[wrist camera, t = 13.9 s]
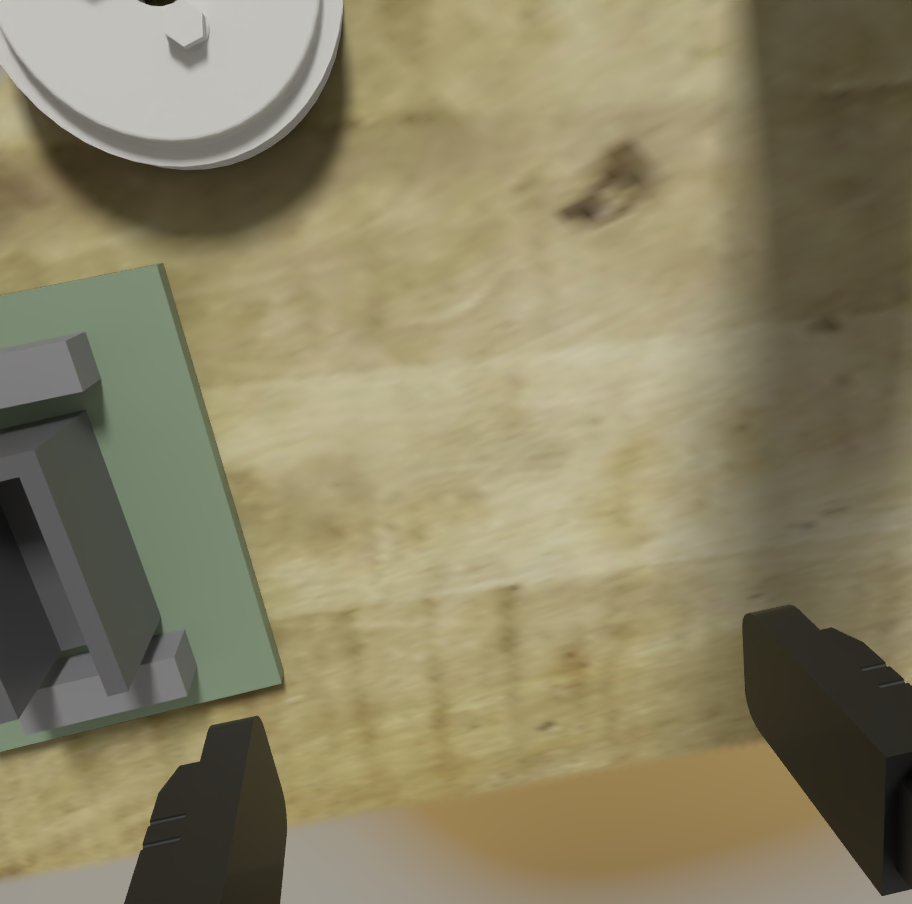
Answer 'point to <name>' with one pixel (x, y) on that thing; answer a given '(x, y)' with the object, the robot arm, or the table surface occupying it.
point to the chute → (65, 562)
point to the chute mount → (140, 495)
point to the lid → (172, 72)
